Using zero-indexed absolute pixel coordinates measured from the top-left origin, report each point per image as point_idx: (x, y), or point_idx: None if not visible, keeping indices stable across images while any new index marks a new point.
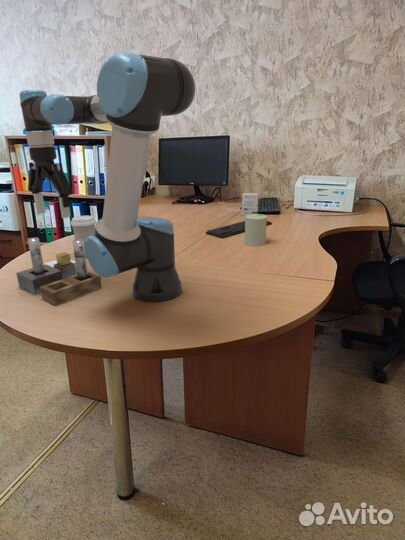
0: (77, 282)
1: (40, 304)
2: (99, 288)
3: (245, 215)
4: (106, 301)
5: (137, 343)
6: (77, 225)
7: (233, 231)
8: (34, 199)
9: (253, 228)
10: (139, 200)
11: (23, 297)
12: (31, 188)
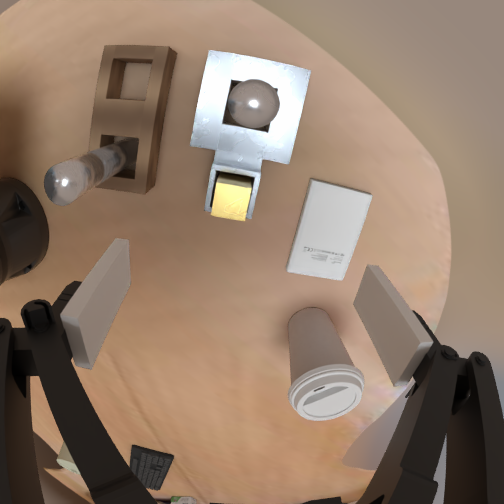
0: (102, 123)
1: (156, 34)
2: None
3: (186, 497)
4: (45, 133)
5: None
6: (321, 368)
7: (134, 460)
8: (415, 316)
9: (66, 447)
10: None
11: (232, 36)
12: (468, 375)
